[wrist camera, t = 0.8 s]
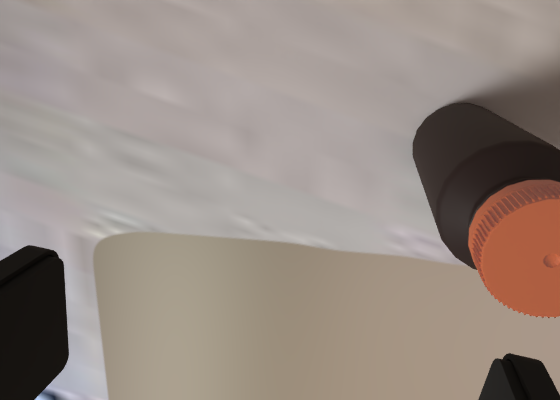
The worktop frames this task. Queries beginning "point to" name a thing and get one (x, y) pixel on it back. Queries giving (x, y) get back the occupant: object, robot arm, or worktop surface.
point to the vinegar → (495, 202)
